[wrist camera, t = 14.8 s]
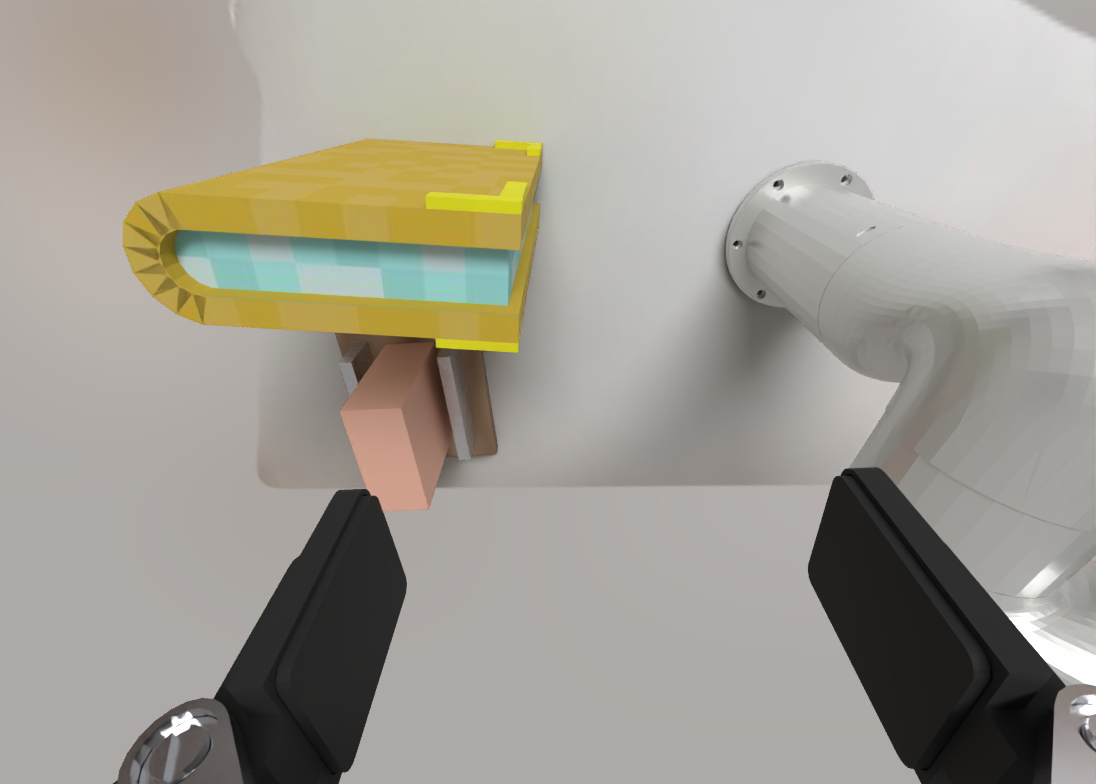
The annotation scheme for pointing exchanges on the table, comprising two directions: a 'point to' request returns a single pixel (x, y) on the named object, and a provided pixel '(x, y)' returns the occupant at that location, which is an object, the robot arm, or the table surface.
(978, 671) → the robot arm
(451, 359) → the bookends
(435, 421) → the small book
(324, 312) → the book
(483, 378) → the shelf board
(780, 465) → the table surface
